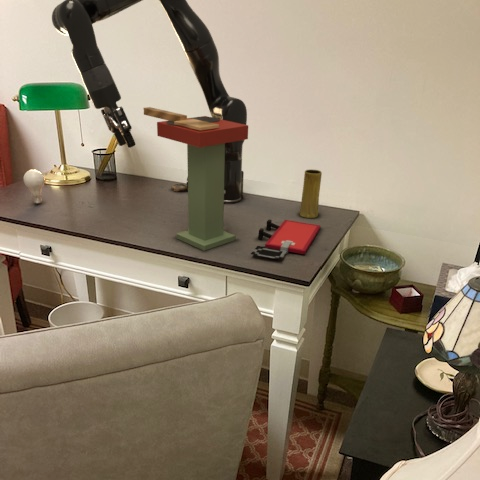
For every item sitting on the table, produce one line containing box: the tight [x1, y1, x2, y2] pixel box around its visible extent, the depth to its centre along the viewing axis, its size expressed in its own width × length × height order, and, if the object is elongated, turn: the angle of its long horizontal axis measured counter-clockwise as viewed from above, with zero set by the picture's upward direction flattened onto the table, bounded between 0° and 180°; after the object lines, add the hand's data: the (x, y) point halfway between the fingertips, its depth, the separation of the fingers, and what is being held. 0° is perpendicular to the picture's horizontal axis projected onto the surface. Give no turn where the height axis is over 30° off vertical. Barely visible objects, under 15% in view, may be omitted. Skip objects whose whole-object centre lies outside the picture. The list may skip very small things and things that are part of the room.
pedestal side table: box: [156, 115, 249, 251], centre depth 145 cm, size 18×17×31 cm
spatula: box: [142, 106, 219, 131], centre depth 137 cm, size 26×6×2 cm, turn 45°
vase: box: [298, 169, 323, 219], centre depth 168 cm, size 6×6×14 cm
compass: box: [171, 176, 188, 193], centre depth 188 cm, size 8×8×7 cm
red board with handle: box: [250, 219, 321, 260], centre depth 150 cm, size 30×3×15 cm
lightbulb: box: [22, 169, 46, 205], centre depth 169 cm, size 6×6×11 cm
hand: (127, 145), depth 146 cm, fingers open, 8 cm apart
